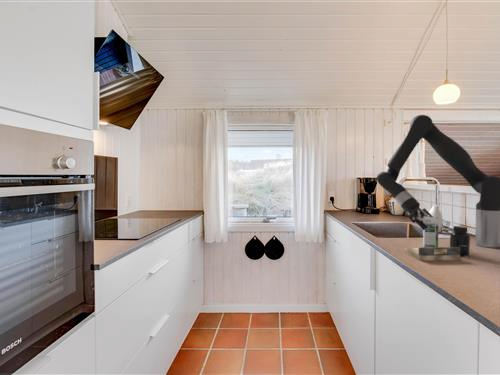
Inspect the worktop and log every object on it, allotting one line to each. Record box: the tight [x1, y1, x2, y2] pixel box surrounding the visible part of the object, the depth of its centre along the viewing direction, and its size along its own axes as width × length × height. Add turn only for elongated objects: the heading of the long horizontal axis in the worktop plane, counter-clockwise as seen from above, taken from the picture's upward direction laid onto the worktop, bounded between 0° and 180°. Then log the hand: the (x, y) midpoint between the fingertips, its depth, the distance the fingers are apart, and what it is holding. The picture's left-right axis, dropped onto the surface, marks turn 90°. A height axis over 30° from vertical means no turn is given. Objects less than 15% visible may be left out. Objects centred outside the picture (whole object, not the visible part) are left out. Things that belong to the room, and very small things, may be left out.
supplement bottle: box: [449, 225, 471, 257], centre depth 122 cm, size 7×7×12 cm
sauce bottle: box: [428, 202, 444, 232], centre depth 167 cm, size 8×8×18 cm
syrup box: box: [422, 216, 439, 248], centre depth 134 cm, size 6×6×14 cm
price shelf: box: [403, 246, 461, 262], centre depth 120 cm, size 16×12×5 cm
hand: (430, 227), depth 134 cm, fingers open, 8 cm apart
